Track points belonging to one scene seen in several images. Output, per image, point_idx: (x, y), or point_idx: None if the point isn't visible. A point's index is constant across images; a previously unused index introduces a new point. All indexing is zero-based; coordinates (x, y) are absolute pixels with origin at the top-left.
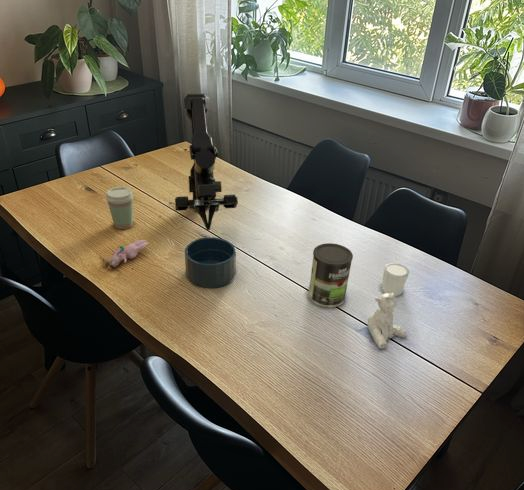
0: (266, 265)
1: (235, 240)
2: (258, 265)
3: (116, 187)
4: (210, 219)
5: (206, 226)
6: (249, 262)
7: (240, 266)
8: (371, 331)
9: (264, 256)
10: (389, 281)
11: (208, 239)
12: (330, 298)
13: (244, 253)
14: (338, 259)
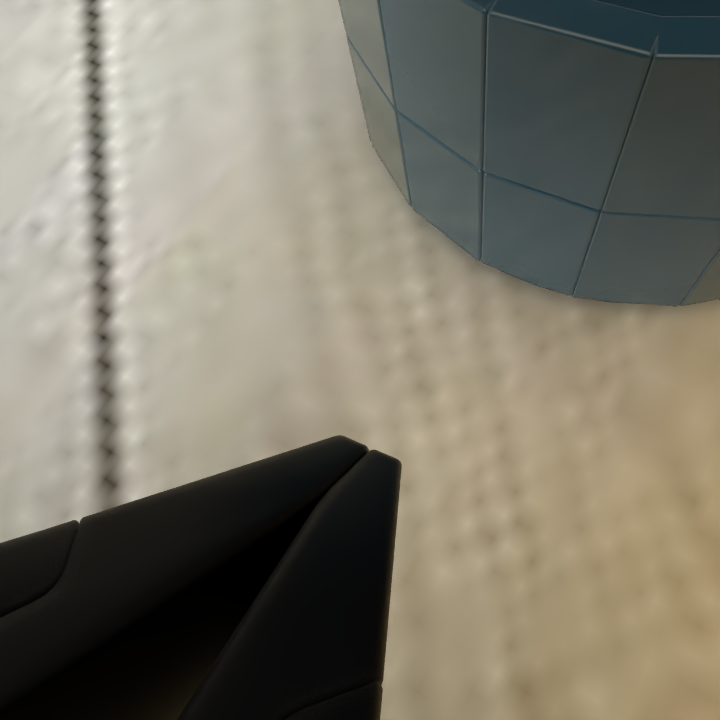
0: (90, 13)
1: (7, 539)
2: (144, 35)
3: None
4: (162, 522)
5: (389, 494)
6: (178, 99)
7: (290, 76)
8: None
9: (3, 128)
10: None
11: (606, 16)
12: None
13: (113, 247)
14: None
